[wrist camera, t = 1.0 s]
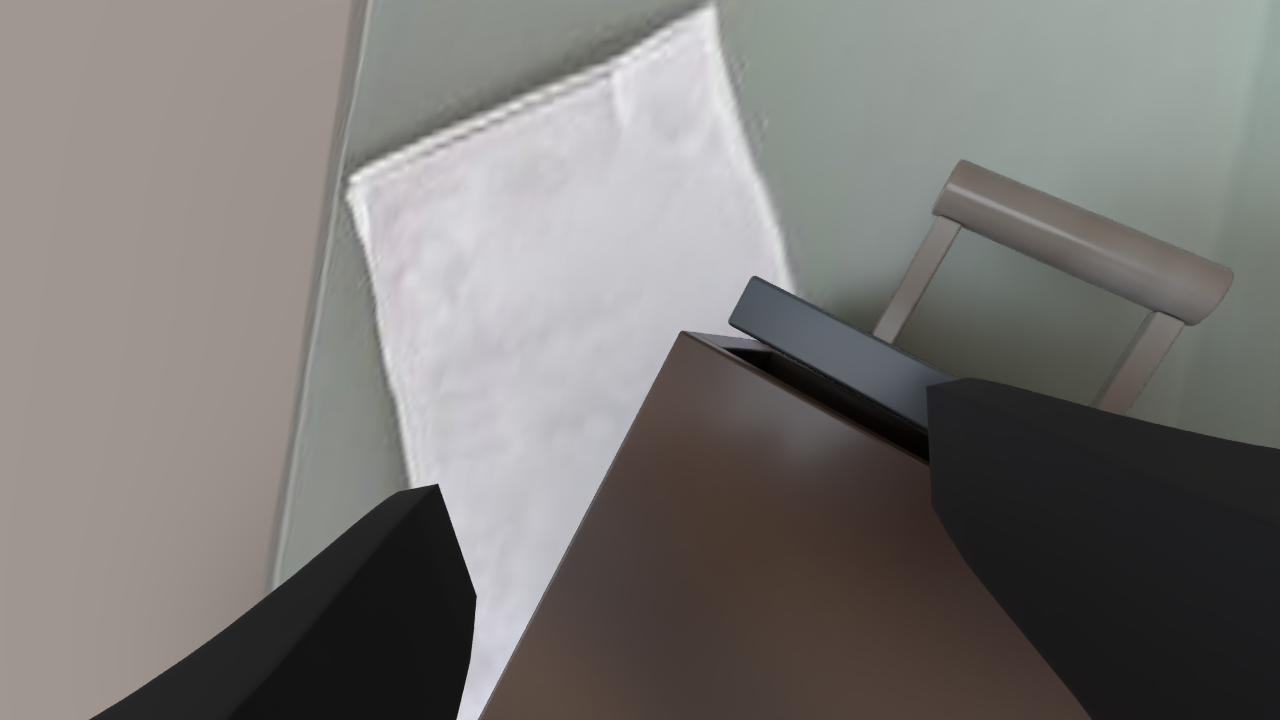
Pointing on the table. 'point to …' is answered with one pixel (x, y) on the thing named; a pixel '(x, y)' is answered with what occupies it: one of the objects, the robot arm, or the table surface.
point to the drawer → (1028, 226)
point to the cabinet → (769, 569)
